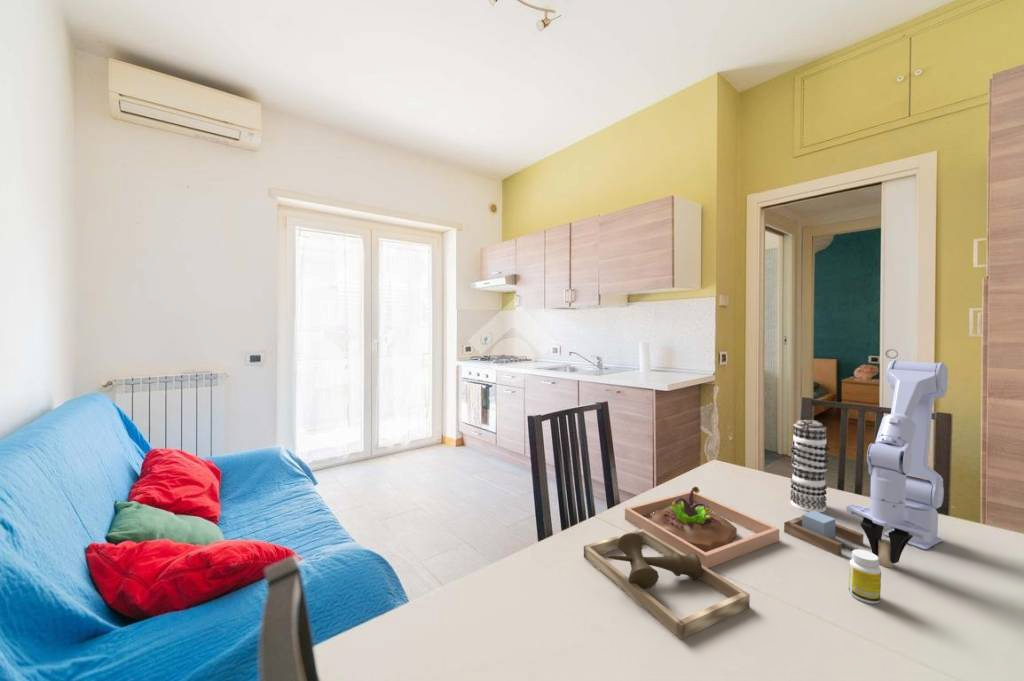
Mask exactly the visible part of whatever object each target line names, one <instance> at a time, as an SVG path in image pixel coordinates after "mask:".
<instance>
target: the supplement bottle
mask: <svg viewBox="0 0 1024 681" xmlns="http://www.w3.org/2000/svg"><path fill="white" fill-rule="evenodd" d="M848 562H849V565H848V567H849V568H848V592H849V594H850V595H851V596H852V597H854V598H855V599H856V600H858V601H861V602H863V603H866V604H872V605H873V604H879V603H880V602H881V586H882V580H881V579H882V570H881V568H880V567H879V565H880V564H879V558H878V556H876V555H875V554H873V553H872V551H871V552H870V551H869V550H864V549H858V548H856V549H855V550H853V551H851V559H850V560H849V561H848Z"/></svg>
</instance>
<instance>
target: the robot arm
mask: <svg viewBox="0 0 1024 681" xmlns="http://www.w3.org/2000/svg"><path fill="white" fill-rule="evenodd" d="M887 365H888V366H887V369H886V379H887V382H888V383H889V385H890V388H891V390H893V391H894V392H893V397H892V398H893V399H892V404H891V408H890V409H891V411H890V413H889V414H886V415H885V416H883V417H882V419H881V421H880V425H879V428H878V432H877V435H876V438H875V442H874V443H872V442H871V443H870V444H869V445H868V448H867V451H866V461H867V467H868V474H869V475H870V494H869V495H870V496H869V497H870V498H869V499H870V500H869V508H868V507H864V506H861V505H856V504H853V503H850V504H847V505H846V506H845V507H846V508H845V510H846V511H845V513H846V514H848V515H850V516H853V515H854V516H856V517H859V518H862V521H860V527H861V529H862V530H863V531H864V533H865V535H866V537H867V540H868V543H869V545H870V550H871V553H873V554H875V555H876V556H877V557H878V540H879V539H883V538H882V537H883V534H884V536H886V537H889V541H890V545H891V553H890V562H891V563H893V565H895V564H897V563H899V562H900V558H901V555H902V553H903V551H904V550H905V548H906V546H907V544H908V545H911V546H913V547H916V548H920V549H922V550H928V549H930V548H931V547H933V546H935V545H937V544H940V543H941V542H943V541H944V540H943V538H942V537H939V536H938V530H939V529H938V528H939V514H938V510H937V509H939V508H940V507H941V506H942V505H943V502H944V495H945V494H944V493H945V490H944V478H943V477H942V475H940V474H939V473H938V472H937V471H936V470H934V469H933V468H932V467H930V466H929V465H928V464H929V455H930V454H929V453H930V443H931V440H930V439H931V430H932V419H933V418H932V417H933V408H934V404H935V401H936V400H937V399H941V398H945V397H946V394H947V390H948V389H947V388H948V378H949V375H948V374H949V372H948V366H947V365H946V364H945V363H944V362H925V361H923V362H922V361H921V362H920V361H905V360H904V361H903V360H902V361H901V360H897V359H895V360H894V359H893V360H892V361H890V362H889V363H888V364H887ZM885 527H887V528H890V529H888V530H887V531H885V532H883V531H884V528H885Z"/></svg>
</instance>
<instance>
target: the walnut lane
mask: <svg viewBox="0 0 1024 681" xmlns="http://www.w3.org/2000/svg"><path fill="white" fill-rule="evenodd" d="M783 532H784V533H785V534H787V535H790V536H793V537H795V538H796V539H798V540H801V541H803V542H806V543H808V544H811V545H813V546H815V547H817V548H820V549H822V550H824V551H827V552H829V553H832V554H833V555H836V556H840V555H842V553H843V552H842V551H843V549H842V548H843V547H842V543H843V542H842V543H839V542H840V541H839V542H837V541H838V540H837V541H834V540H832V539H830V538H827V537H825V536H822V535H820V534H818V533H815V532H813V531H810V530H808V529H805V528H803V527H802V515H801V516H798V517H796V518H793V519H790V520H787V521H784V523H783ZM835 537H837V538H839V539H842V540H844V541H847V542H850V543H852V544H855V545H857V546H859V547H861V546H862V544H863V545H864V533H862V532H859V531H856V530H855V529H851V528H849V527H846V526H844V525H840V524H838V523H836V524H835Z"/></svg>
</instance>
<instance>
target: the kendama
mask: <svg viewBox="0 0 1024 681" xmlns="http://www.w3.org/2000/svg"><path fill="white" fill-rule="evenodd" d="M623 534H624V535H623ZM623 534H622V535H623V536H621V537H620V539H619V540H618V548H619V549H618V550H619V551H620V552H621V553H623V554H624V555H621V554H620V555H617V554H609V555H607V558H608V559H610V560H615V561H622V562H628V563H629V564H630V567H631V568H630V572H629V574H628V578H629V579H628V582H629V583H632V584H637V585H638V586H639V587H640V588H642V589H643V590H647V589H651V588H652V587H654V586H655V585H656V584H657V583H658V581H659V578H660V577H659V572H658V571H657V570H656V569H655V568H659V569H663V570H666V571H669V572H672V573H673V575H674V576H675V577H680V576H682V575H684V576H688V577H690V579H691V580H693V581H697V580H699V579H700V578H699V577H700V576H701V573H702V565H701V561H700V559H699V557H698V556H697V554H695V553H694V552H690V553H689V554H688V555H680V554H679V553H677V552H673V553H672V554H671V555H670V556H665V555H663V556H644V554H643V545H644V542H643V538H642V536H641V535H639V534H637V533H629V532H627V534H626V533H623ZM654 567H655V568H654Z"/></svg>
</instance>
